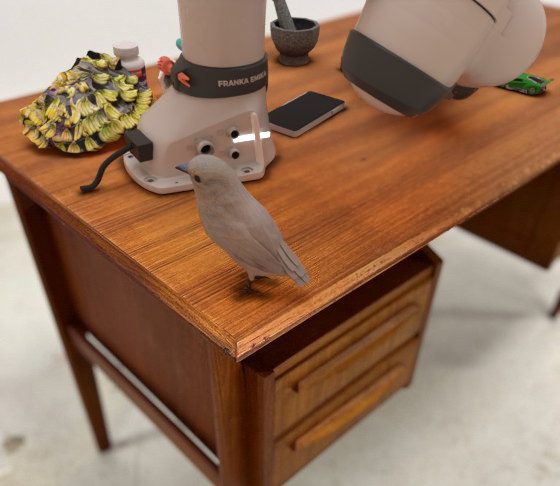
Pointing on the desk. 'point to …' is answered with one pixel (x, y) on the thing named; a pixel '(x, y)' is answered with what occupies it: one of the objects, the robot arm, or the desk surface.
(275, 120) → the smartphone
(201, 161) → the bird
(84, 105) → the banana patterned fabric
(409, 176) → the desk surface
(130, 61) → the pill bottle
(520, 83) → the toy car
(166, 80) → the long cone
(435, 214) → the desk surface
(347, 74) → the robot arm
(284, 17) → the mortar and pestle
